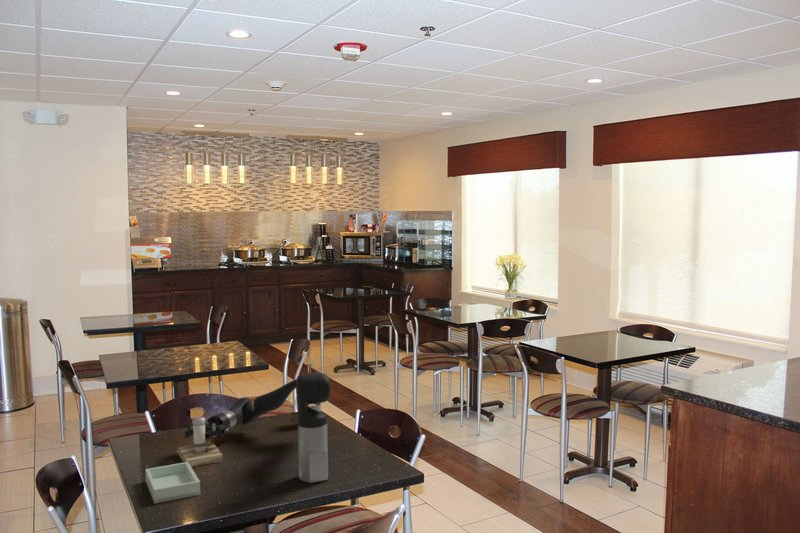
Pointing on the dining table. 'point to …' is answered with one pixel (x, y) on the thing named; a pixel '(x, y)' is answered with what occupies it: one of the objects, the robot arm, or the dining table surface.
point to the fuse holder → (200, 455)
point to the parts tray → (172, 482)
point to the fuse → (199, 435)
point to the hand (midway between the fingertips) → (195, 435)
